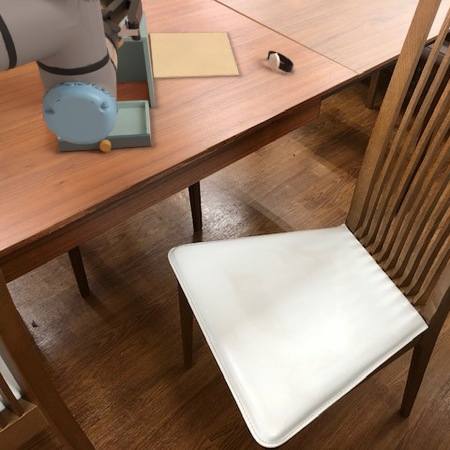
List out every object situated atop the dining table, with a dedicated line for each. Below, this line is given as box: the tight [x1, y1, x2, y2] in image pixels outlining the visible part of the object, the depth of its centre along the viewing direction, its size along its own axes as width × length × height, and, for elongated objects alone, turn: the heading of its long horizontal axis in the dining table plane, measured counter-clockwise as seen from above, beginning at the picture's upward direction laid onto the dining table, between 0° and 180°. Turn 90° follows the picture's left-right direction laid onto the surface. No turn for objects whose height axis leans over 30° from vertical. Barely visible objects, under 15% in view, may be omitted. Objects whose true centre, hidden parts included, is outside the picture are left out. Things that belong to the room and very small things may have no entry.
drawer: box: [56, 99, 152, 153], centre depth 91 cm, size 13×15×2 cm
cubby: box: [116, 10, 156, 108], centre depth 95 cm, size 11×18×14 cm, turn 104°
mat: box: [149, 31, 240, 80], centre depth 115 cm, size 20×18×1 cm
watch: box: [266, 50, 294, 73], centre depth 114 cm, size 8×5×4 cm, turn 36°
